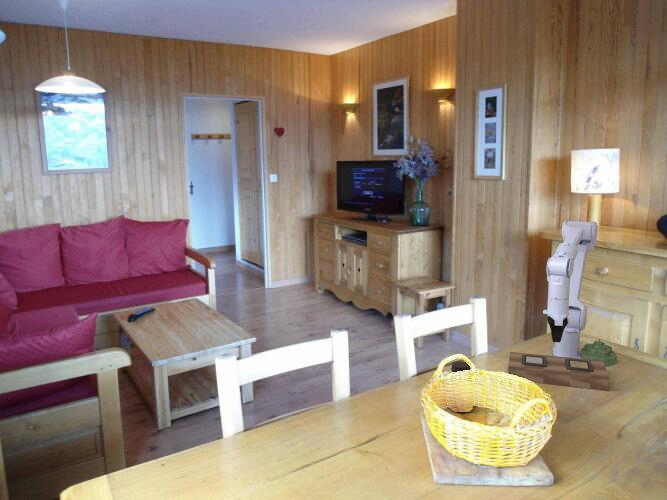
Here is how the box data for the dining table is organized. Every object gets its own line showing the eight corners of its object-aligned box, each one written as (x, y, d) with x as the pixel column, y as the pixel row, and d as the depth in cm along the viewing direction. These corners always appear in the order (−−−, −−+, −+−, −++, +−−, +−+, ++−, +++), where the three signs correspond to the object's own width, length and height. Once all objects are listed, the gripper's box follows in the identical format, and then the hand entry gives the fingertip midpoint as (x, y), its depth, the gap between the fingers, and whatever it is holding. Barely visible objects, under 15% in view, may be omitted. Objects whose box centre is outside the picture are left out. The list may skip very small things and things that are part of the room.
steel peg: (525, 369, 158) (526, 356, 157) (541, 371, 157) (542, 358, 156) (525, 375, 154) (525, 362, 153) (541, 377, 153) (542, 363, 152)
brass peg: (568, 374, 154) (569, 360, 153) (585, 375, 153) (586, 362, 152) (570, 380, 150) (570, 366, 149) (587, 382, 148) (588, 368, 148)
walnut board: (509, 363, 163) (509, 350, 163) (602, 373, 154) (603, 359, 154) (507, 379, 152) (508, 365, 152) (607, 391, 143) (608, 375, 143)
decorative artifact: (590, 352, 171) (574, 360, 165) (591, 331, 170) (575, 338, 164) (622, 361, 163) (606, 369, 157) (623, 339, 162) (607, 347, 156)
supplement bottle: (476, 413, 133) (477, 369, 131) (449, 414, 134) (450, 370, 131) (470, 401, 140) (471, 358, 138) (444, 401, 140) (445, 359, 138)
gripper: (543, 290, 161) (541, 332, 163) (544, 303, 148) (542, 348, 150) (568, 291, 158) (566, 334, 161) (571, 304, 145) (569, 351, 148)
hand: (556, 341), depth 155 cm, fingers closed
